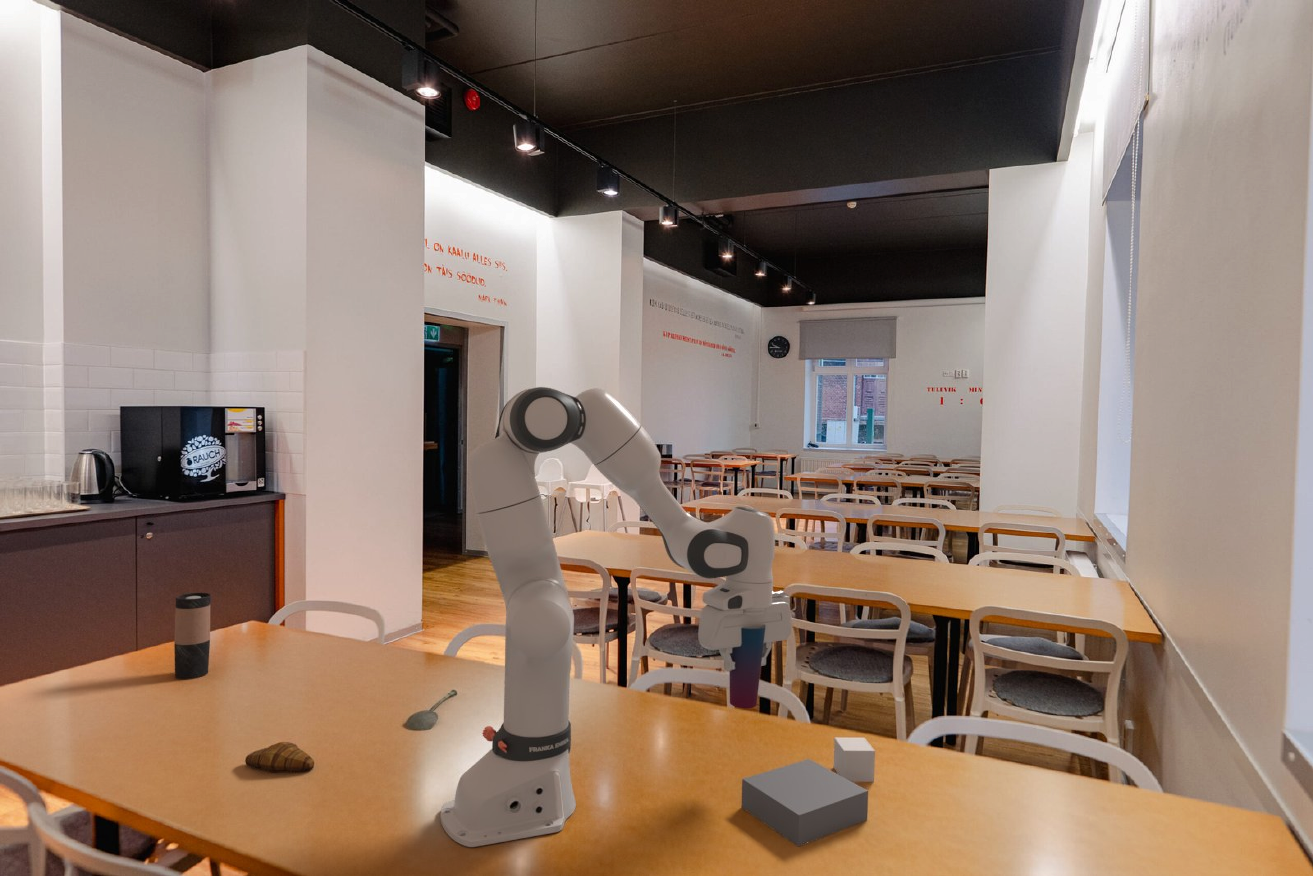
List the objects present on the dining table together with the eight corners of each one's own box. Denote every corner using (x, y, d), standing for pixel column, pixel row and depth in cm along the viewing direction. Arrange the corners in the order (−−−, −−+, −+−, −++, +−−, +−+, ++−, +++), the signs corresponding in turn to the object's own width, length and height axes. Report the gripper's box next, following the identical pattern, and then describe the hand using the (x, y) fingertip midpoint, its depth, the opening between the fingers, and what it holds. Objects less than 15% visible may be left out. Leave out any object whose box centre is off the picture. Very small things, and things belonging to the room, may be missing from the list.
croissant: (323, 764, 141) (324, 737, 141) (301, 780, 134) (302, 753, 134) (259, 757, 143) (259, 731, 143) (234, 773, 136) (235, 746, 136)
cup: (760, 712, 135) (764, 630, 135) (723, 707, 136) (727, 626, 136) (762, 699, 141) (766, 621, 141) (726, 695, 143) (730, 617, 143)
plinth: (798, 846, 117) (799, 815, 117) (741, 807, 129) (742, 779, 129) (867, 820, 126) (868, 790, 126) (808, 785, 137) (809, 758, 137)
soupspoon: (399, 735, 157) (428, 738, 156) (400, 719, 157) (429, 723, 156) (441, 694, 179) (467, 697, 178) (442, 681, 179) (468, 684, 178)
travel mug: (215, 673, 188) (217, 595, 188) (183, 682, 182) (184, 600, 182) (199, 668, 192) (201, 591, 192) (167, 675, 186) (169, 596, 186)
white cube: (863, 768, 146) (864, 737, 146) (874, 782, 140) (875, 750, 140) (833, 767, 145) (834, 737, 145) (842, 782, 139) (844, 750, 139)
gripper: (778, 586, 147) (774, 656, 147) (695, 594, 136) (691, 669, 136) (801, 593, 142) (797, 665, 142) (716, 602, 131) (712, 680, 131)
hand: (744, 667), depth 139 cm, fingers closed on cup, 6 cm apart
